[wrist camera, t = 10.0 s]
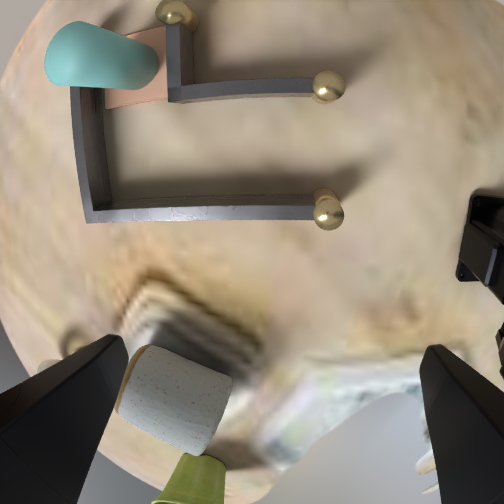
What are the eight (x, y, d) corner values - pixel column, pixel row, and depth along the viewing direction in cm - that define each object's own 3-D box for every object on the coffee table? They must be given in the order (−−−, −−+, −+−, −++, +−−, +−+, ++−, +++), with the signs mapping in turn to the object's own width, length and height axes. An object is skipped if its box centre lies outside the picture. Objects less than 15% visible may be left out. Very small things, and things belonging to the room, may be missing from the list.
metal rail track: (330, 3, 14) (337, -15, 11) (336, 214, 19) (343, 230, 16) (87, 40, 16) (61, 34, 13) (101, 217, 21) (79, 231, 18)
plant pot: (157, 454, 35) (139, 503, 27) (192, 438, 31) (174, 498, 24) (211, 480, 37) (199, 528, 29) (252, 467, 33) (243, 523, 25)
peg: (114, 50, 16) (45, 34, 9) (158, 39, 15) (97, 12, 9) (115, 94, 17) (44, 93, 11) (159, 85, 17) (95, 75, 10)
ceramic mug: (148, 321, 24) (107, 388, 18) (240, 360, 25) (222, 436, 18) (134, 388, 29) (105, 444, 22) (205, 418, 30) (188, 478, 23)
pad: (173, 25, 15) (171, 24, 15) (175, 97, 17) (173, 96, 17) (106, 43, 16) (103, 42, 15) (107, 109, 18) (105, 109, 17)
